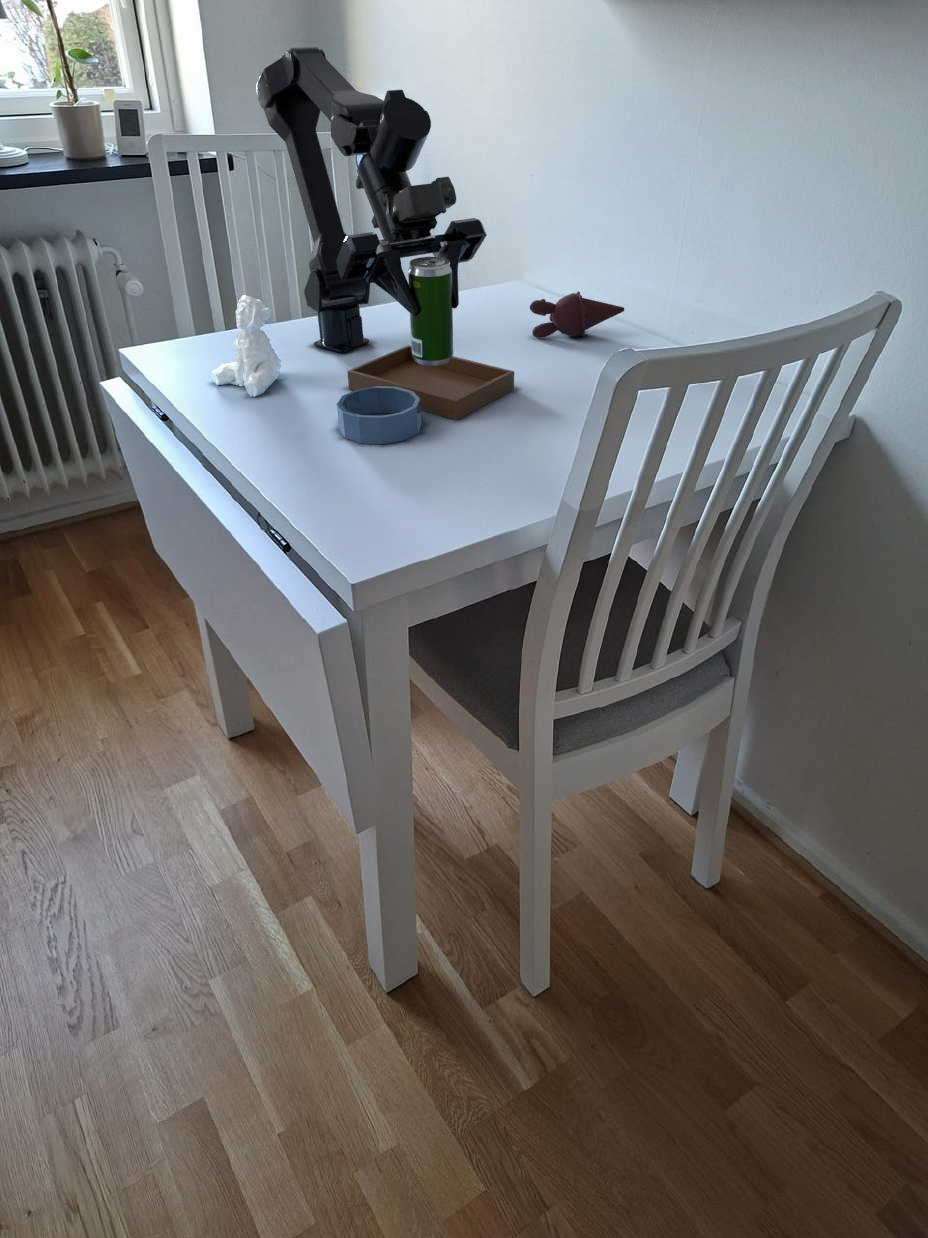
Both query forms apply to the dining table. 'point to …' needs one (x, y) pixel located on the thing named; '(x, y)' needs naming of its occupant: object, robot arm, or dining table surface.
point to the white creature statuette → (251, 351)
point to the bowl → (379, 428)
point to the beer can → (431, 310)
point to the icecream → (572, 315)
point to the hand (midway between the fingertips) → (436, 310)
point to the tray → (436, 381)
